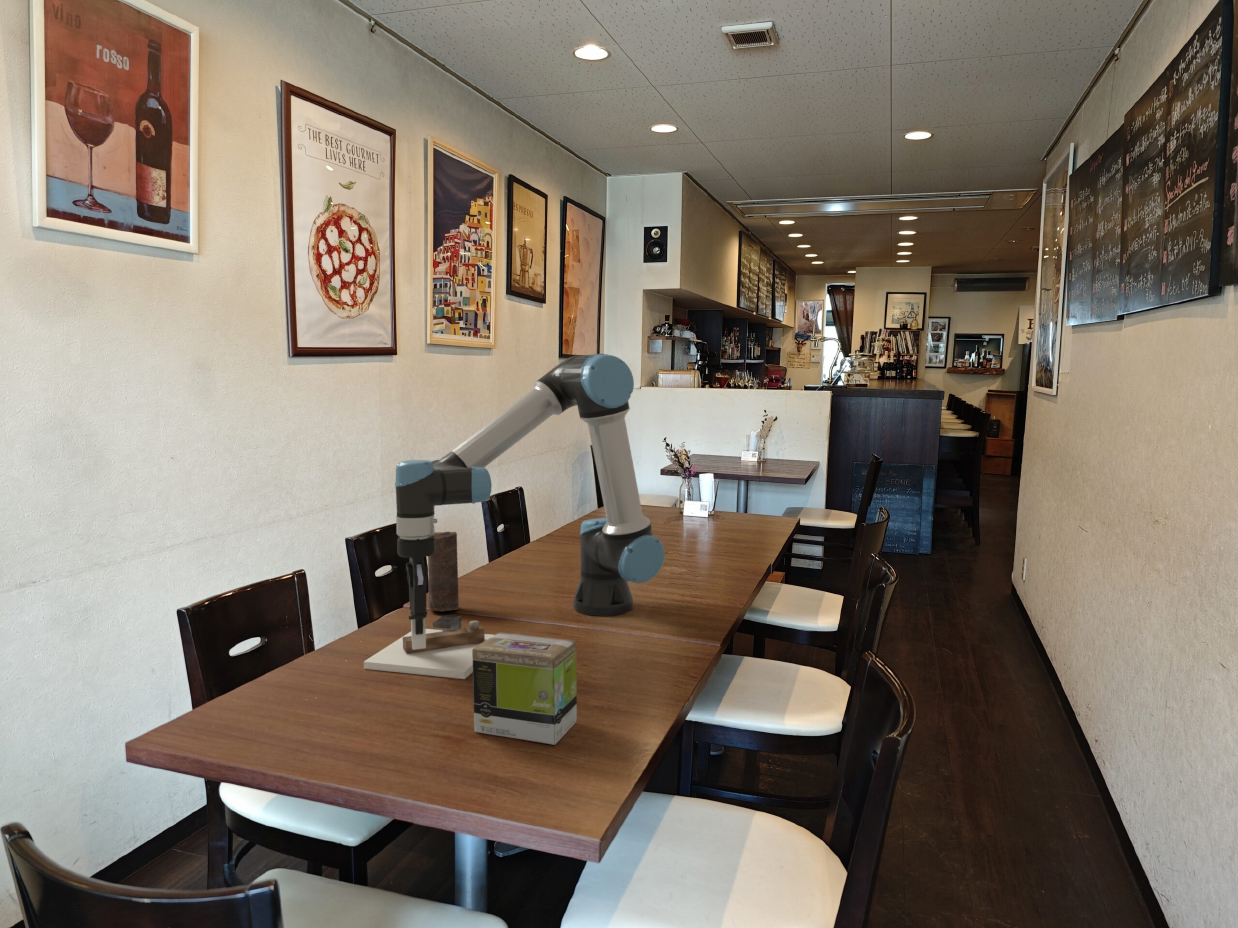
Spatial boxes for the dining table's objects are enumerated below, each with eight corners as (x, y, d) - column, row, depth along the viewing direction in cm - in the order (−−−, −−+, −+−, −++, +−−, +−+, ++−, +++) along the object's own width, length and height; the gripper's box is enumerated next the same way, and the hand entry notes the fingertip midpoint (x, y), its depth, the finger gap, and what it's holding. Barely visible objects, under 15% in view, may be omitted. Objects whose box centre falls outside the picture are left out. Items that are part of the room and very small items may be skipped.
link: (481, 635, 176) (480, 617, 176) (487, 641, 172) (486, 623, 172) (402, 647, 168) (401, 628, 168) (406, 654, 164) (406, 634, 164)
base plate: (506, 642, 177) (506, 635, 177) (464, 679, 156) (464, 671, 155) (416, 634, 182) (416, 627, 182) (363, 668, 161) (363, 661, 161)
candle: (451, 616, 195) (449, 536, 193) (423, 614, 197) (421, 535, 195) (463, 607, 203) (462, 530, 201) (436, 605, 204) (434, 529, 202)
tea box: (578, 721, 137) (578, 638, 135) (554, 747, 128) (554, 658, 126) (500, 709, 142) (499, 629, 140) (471, 733, 132) (470, 647, 131)
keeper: (461, 634, 177) (461, 616, 177) (450, 642, 172) (449, 624, 171) (445, 633, 178) (444, 614, 178) (433, 641, 173) (432, 622, 172)
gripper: (439, 540, 158) (441, 655, 161) (430, 529, 170) (433, 636, 173) (400, 543, 155) (403, 660, 158) (394, 531, 167) (397, 640, 170)
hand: (418, 647), depth 165 cm, fingers closed
